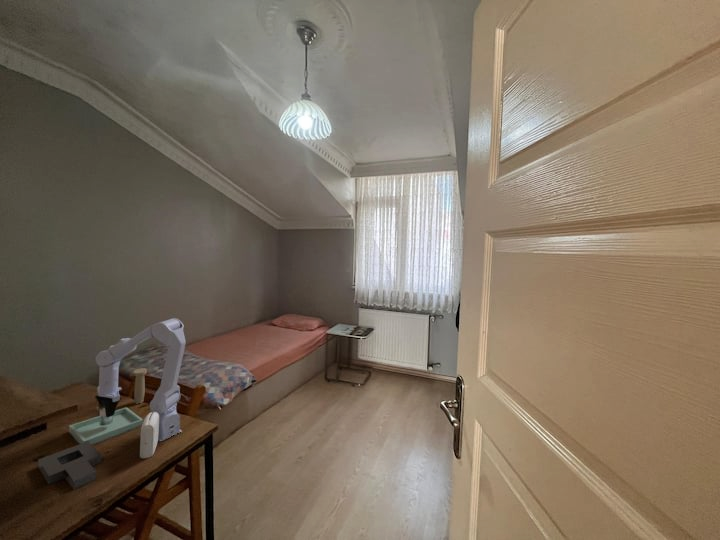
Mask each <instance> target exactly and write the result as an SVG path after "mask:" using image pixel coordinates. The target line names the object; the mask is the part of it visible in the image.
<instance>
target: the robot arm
mask: <svg viewBox="0 0 720 540" xmlns="http://www.w3.org/2000/svg"><path fill="white" fill-rule="evenodd" d="M184 327H185V325H184V323H183V322H182V321H181V320H180V319H178V318H176V317H172V318H170V319H167V320H163V321H160V322H159V321H158V322H156V323H154V324H152V325H150V326H148V327H146V328H145V329H143V330H142V331H140V332H139V333H138V334H136V335H134V336H133V337H131V338H130V337H126V338H124V337H123V338H121V339H119V340H118V342H117V343H116V344H114V345H110V346H108V349H106V350H101V351H99V353H97V354H96V355H95V363H96V364H97V365H98V366H99V375H98V386H97V389H96V391H97V395H95V396H94V399H95V400H96V401H97V403H98V406H99V405H102V404H103V405H104V407H105V413H106V417H110V416H113V415H114V413H115V411H116V409H117V407H118V405H119V403H120V401H121V400H122V396H121V395H120V392H119V391H122V390H123V389H122V387H121V386H119V372H120V371H119V369H120V364H121V361H122V360H123V358H124V357H126V356H128V355H129V354H131V353H132V352H134V351H135V350H137V347H138V345H140V344H141V343H144V342H145V341H147V340H149V339H150V338H151V339H153V338H154V339H156V340H157V341H159V342H160V343H163V344H164V345H165V346H167V347H168V348H167V352H166V358H165V362H164V367H163V371H162V372H163V373H162V377H161V381H160V386H159V387H158V389H157V391H156V392H155V393H154V397H153V398H152V400H150V402H149V409H150V412H157V413H158V414H159V433H158V442H162V441H165V440H167V439H169V438H171V436H172V437H173V435H174V436H176V435H178V434H177V433H179V434H181V433H182V432H183V430H182V429H180V428H181V427H180V426H181V416H180V414H179V413H178V412H177V405H178V402H179V401H180V400H181V392H180V391H181V390H180V389H181V386H180V385H178V381H179V375H180V370H181V365H182V364H183V363H182V362H183V358H184V357H183V356H184V353H185V348H186V342H187V341H186V337H185V333H184ZM180 432H181V433H180Z"/></svg>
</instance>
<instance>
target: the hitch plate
mask: <svg viewBox="0 0 720 540" xmlns="http://www.w3.org/2000/svg"><path fill="white" fill-rule="evenodd" d="M64 462H65V463H64ZM100 463H102V454H101V453H100V452H99V451H98V450H97V449H96V448H95V446H94V445H92V444H91V443H90V442H89V441H87V442H85V443H82V444H79V443H78V444H77V445H74V446H72V447H69V448H65V449H64V450H60V451H58V452H55V453H52V454H50V455H47V456H45V457H42V458H38V463H37V464H38V466H37V467H39V468H38V470H39V471H40V470H41V471H40V473H41V472H42V473H41V474H42V476H43V478H44V477H45V478H44V479H45V481H46V482H47V484H48V485H51V484H53V483H56V482H58V481H61V480H63V479H64V478H65V479H66V481H67V482H68V484H69V485H70V486H71V488H72V489H73V490H76V489H78V488H80V487H82V486H84V485H86V484H89V483H91V482H93V481H95V480H96V479H97V470H96V469H95V468H94V466H96V465H98V464H100Z"/></svg>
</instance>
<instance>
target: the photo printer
mask: <svg viewBox="0 0 720 540" xmlns="http://www.w3.org/2000/svg"><path fill="white" fill-rule="evenodd" d="M158 433H159V414H158V413H157V412H152V411H150V412H149V413H147V415H146V416H145V417H144V419H143V423H142V426H141V427H140V440H139V441H140V443H139V457H140V459H148V458H150V457H152V456H154V453H155V452H156V449H157V445H158V442H159V441H158Z"/></svg>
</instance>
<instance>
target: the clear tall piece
mask: <svg viewBox="0 0 720 540" xmlns="http://www.w3.org/2000/svg"><path fill="white" fill-rule="evenodd" d="M96 410H97V411H99V416H100V421H99V425H100V426H105V425H108V424H111V423H112V422H113V416H110V417H106V413H105V407H104V405H103V404H102V405H99V404H98V405H97V406H96Z"/></svg>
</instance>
